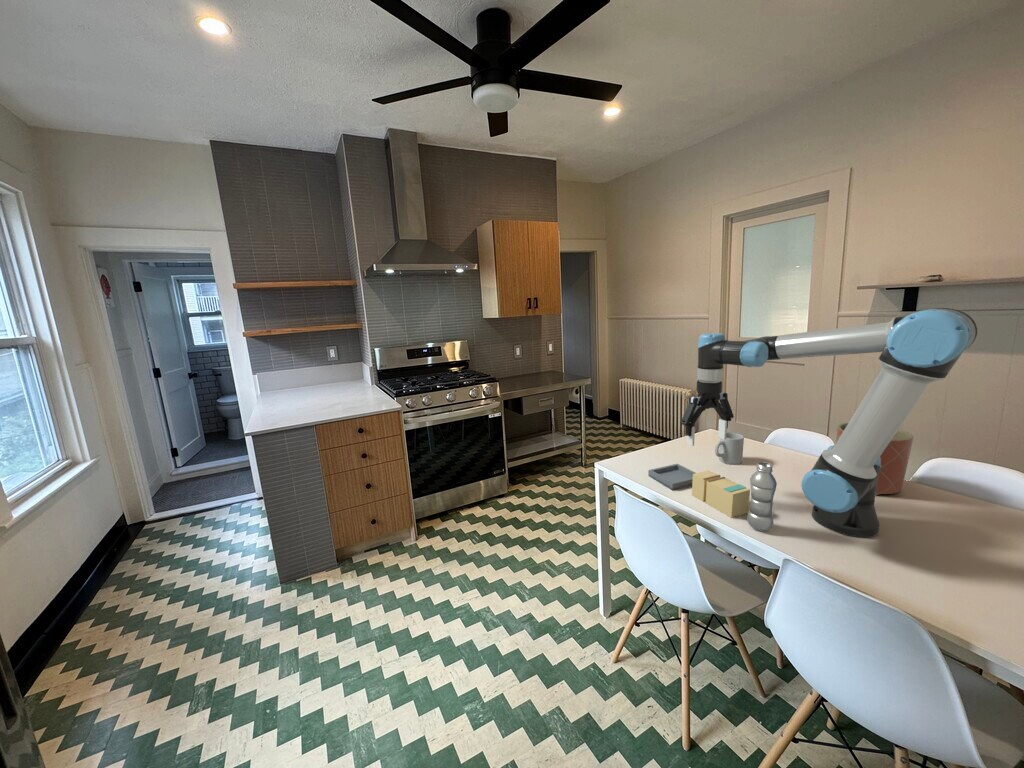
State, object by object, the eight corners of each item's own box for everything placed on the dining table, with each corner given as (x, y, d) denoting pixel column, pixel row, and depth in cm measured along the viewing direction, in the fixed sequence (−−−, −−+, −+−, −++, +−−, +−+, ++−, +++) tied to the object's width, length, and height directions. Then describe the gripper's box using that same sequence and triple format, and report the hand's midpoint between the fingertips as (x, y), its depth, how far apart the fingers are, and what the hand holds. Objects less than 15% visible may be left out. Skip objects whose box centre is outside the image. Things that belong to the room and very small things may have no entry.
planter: (855, 469, 147) (862, 419, 143) (918, 492, 129) (928, 435, 125) (817, 477, 143) (823, 426, 139) (876, 502, 125) (886, 443, 120)
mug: (730, 455, 166) (731, 431, 164) (747, 462, 158) (749, 437, 156) (707, 459, 163) (708, 435, 160) (723, 467, 155) (725, 441, 152)
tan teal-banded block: (748, 512, 122) (750, 489, 120) (731, 517, 120) (733, 493, 118) (719, 497, 132) (721, 475, 130) (703, 502, 130) (705, 479, 128)
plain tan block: (719, 497, 132) (720, 475, 131) (703, 501, 130) (704, 479, 128) (707, 491, 137) (708, 469, 135) (691, 495, 135) (692, 473, 133)
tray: (702, 482, 143) (703, 476, 143) (672, 490, 139) (672, 483, 138) (677, 469, 155) (677, 463, 155) (648, 475, 151) (648, 470, 150)
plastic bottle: (760, 535, 110) (766, 470, 106) (741, 523, 117) (746, 461, 113) (778, 531, 112) (785, 467, 108) (758, 519, 118) (763, 458, 114)
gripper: (729, 374, 135) (725, 432, 139) (670, 382, 127) (668, 443, 132) (748, 378, 128) (743, 439, 132) (687, 386, 120) (684, 451, 125)
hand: (706, 441), depth 132 cm, fingers open, 13 cm apart
